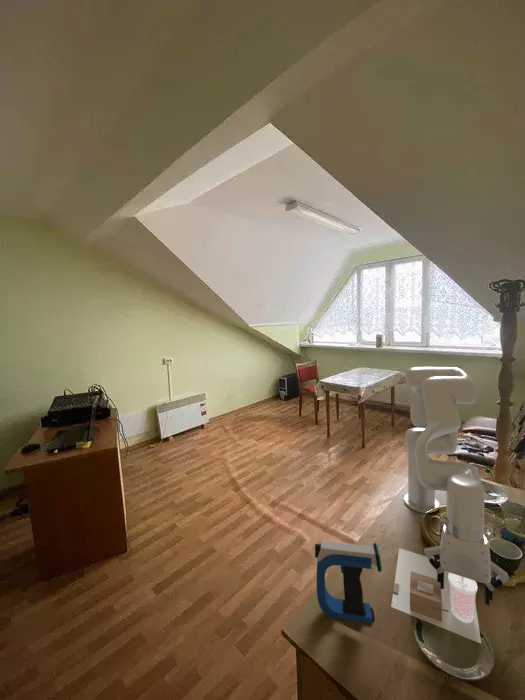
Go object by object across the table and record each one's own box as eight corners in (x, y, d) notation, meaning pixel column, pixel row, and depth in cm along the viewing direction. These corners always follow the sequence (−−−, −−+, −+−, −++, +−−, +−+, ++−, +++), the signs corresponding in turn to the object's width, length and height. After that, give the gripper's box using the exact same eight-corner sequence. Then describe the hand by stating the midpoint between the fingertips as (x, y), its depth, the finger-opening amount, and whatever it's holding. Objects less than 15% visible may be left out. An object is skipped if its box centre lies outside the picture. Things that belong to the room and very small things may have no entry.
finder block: (410, 587, 81) (410, 570, 81) (440, 597, 78) (440, 579, 78) (409, 609, 75) (409, 591, 75) (441, 621, 72) (441, 602, 71)
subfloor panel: (390, 548, 97) (390, 544, 96) (481, 577, 85) (481, 572, 84) (380, 606, 78) (380, 601, 78) (495, 654, 66) (495, 647, 66)
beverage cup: (444, 599, 77) (444, 550, 76) (471, 604, 76) (471, 554, 74) (452, 622, 72) (452, 570, 70) (481, 628, 70) (482, 575, 69)
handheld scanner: (383, 630, 72) (382, 555, 70) (317, 620, 75) (314, 548, 74) (380, 612, 76) (378, 541, 75) (317, 603, 80) (314, 535, 78)
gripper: (423, 526, 72) (423, 590, 74) (514, 550, 64) (512, 622, 65) (424, 508, 79) (424, 567, 80) (506, 528, 70) (504, 594, 72)
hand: (463, 592), depth 73 cm, fingers open, 8 cm apart
